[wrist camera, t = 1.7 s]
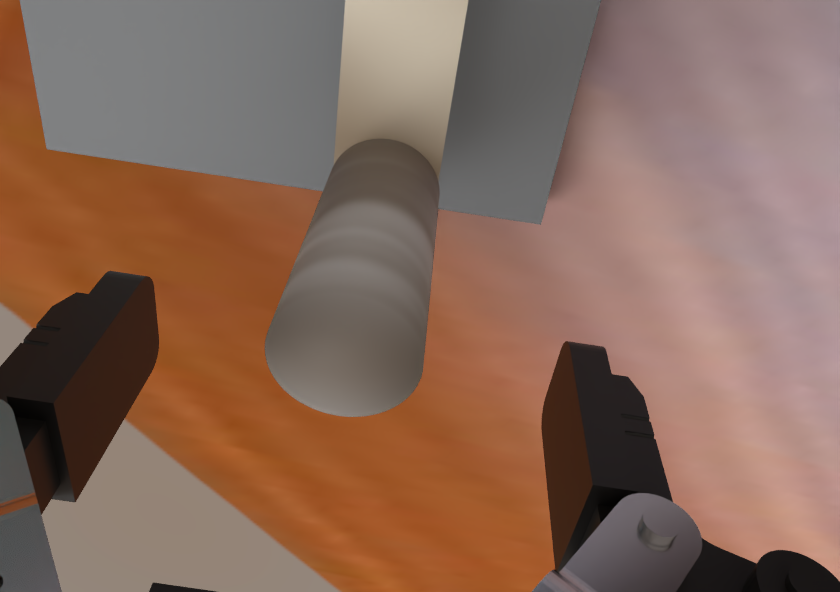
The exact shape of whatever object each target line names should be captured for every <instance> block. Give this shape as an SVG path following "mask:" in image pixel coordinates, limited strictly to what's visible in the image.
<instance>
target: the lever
mask: <svg viewBox="0 0 840 592" xmlns="http://www.w3.org/2000/svg"><path fill="white" fill-rule="evenodd" d="M467 6H468V0H345V11H344V26H343V40H342V54H341V68H340V82H339V96H338V110H337V124H336V139H335V153H334V166H333V168H332V170H331V172H330V175H329V177H328V180H327V183H326V185H325V188H324V190H323V193H322V195H321V198H320V200H319V203H318V205H317V208H316V210H315V213H314V216H313V218H312V221H311V223H310V226H309V228H308V231H307V233H306V236H305V238H304V241H303V243H302V246H301V249H300V251H299V254H298V256H297V259H296V261H295V264H294V266H293V269H292V271H291V274H290V277H289V279H288V282H287V284H286V287H285V289H284V292H283V294H282V297H281V299H280V302H279V304H278V307H277V310H276V312H275V315H274V317H273V320H272V322H271V325H270V327H269V330H268V333H267V336H266V340H265V356H266V360H267V364H268V366H269V369H270V371H271V373H272V375H273V376H274V378H275V380H276V381H277V382H278V383H279V385H280V386H281V387H282V388H283V389H284V390H285V391H286V392H287V393H288V394H290V395H291V396H292V397H293V398H295V399H296V400H298V401H299V402H301V403H303V404H305V405H307V406H308V407H310V408H313V409H315V410H318V411H321V412H324V413H328V414H332V415H338V416H347V417H360V416H369V415H374V414H378V413H381V412H384V411H387V410H389V409H391V408H394V407H395V406H397V405H399V404H400V403H402V402H403V401H404V400H405V399H407V398H408V397H409V396H410V395H411V393H412V392H413V391H414V390H415V388H416V387H417V385H418V383H419V381H420V379H421V375H422V372H423V364H424V353H425V342H426V332H427V321H428V311H429V300H430V290H431V279H432V269H433V258H434V248H435V237H436V227H437V216H438V206H439V195H440V190H439V182H438V181H439V174H440V168H441V162H442V156H443V150H444V144H445V138H446V132H447V126H448V120H449V114H450V108H451V102H452V96H453V90H454V84H455V78H456V72H457V66H458V60H459V54H460V48H461V42H462V36H463V30H464V24H465V18H466V12H467Z"/></svg>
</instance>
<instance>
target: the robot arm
mask: <svg viewBox="0 0 840 592" xmlns="http://www.w3.org/2000/svg"><path fill="white" fill-rule="evenodd" d="M158 349H159V334H158V324H157V313H156V303H155V293H154V285H153V281H152V279H151V278H150V277H147V276H140V275H134V274H127V273H121V272H114V271H109V272H107V273H106V274H105V275H104V276H103V277H102V278H101V279H100V281H99V282H98V283H97V284H96V286H95V287H94V288H93V289H92V291H91V292H90V293H89V294H84V293H77V292H76V293H75V294H73V295H71V296H70V297H68V298H66V299H64V300H63V301H61V302H59V303H57V304H56V305H54V306H52V307H51V308H50V310H49V311H48V312H47V313H46V314H45V315H44V317H43V318H42V319H41V320H40V321H39V322H38V323H37V327H36V328H33V329H32V330H31V332H30V333H29V334H28V335H27V336H26V337H25V339H24V343H20V344H19V346H18V347H17V348H16V349H15V350H14V351H13V352H12V354H11V355H10V356H9V357H8V358H7V360H6V361H5V362H4V363H3V364H2V365H1V366H0V592H62V591H61V587H60V583H59V579H58V576H57V572H56V568H55V565H54V561H53V557H52V553H51V549H50V546H49V542H48V538H47V535H46V531H45V527H44V523H43V520H42V516H41V515H42V513H43V511H44V510H45V508H46V507H47V505H48V503H49V502H50V500H51V499H55V500H63V501H69V502H76V500H77V499H78V497H79V495H80V494H81V492H82V490H83V488H84V487H85V485H86V483H87V481H88V480H89V478H90V476H91V475H92V473H93V471H94V470H95V468H96V466H97V465H98V463H99V461H100V459H101V458H102V456H103V454H104V453H105V451H106V449H107V447H108V446H109V444H110V442H111V441H112V439H113V437H114V435H115V434H116V432H117V430H118V429H119V427H120V425H121V423H122V422H123V420H124V418H125V417H126V415H127V413H128V412H129V410H130V408H131V406H132V405H133V403H134V401H135V400H136V398H137V396H138V394H139V393H140V391H141V389H142V388H143V386H144V384H145V382H146V381H147V379H148V377H149V376H150V374H151V372H152V370H153V368H154V366H155V363H156V359H157V355H158ZM542 439H543V449H544V459H545V469H546V479H547V490H548V500H549V510H550V520H551V530H552V540H553V551H554V561H555V570H552V571H551V572H549V573H548V574H547V575H546V576H545V577H544V578H543V579H542V581H541V582H540V583H539V584H538V585H537V586H536V587H535V589H534V590H533V591H532V592H840V582H839V581H838V579H837V578H836V577H835V576H834V575H833V574H832V573H831V572H830V571H828V570H827V569H826V568H825V567H823V566H822V565H820V564H819V563H817V562H816V561H814V560H812V559H810V558H809V557H807V556H804V555H802V554H799V553H796V552H792V551H786V550H776V551H771V552H769V553H767V554H765V555H764V556H762V557H761V558H760V560H759V561H758V563H757V564H756V563H754V562H752V561H749V560H747V559H744V558H742V557H740V556H737V555H735V554H733V553H730V552H728V551H725V550H723V549H721V548H719V547H716V546H714V545H712V544H711V543H709V542H707V541H706V540H704V539H703V538H701V534H700V531H699V529H698V527H697V525H696V524H695V522H694V521H693V519H692V518H691V517H690V516H689V515H688V514H687V513H686V512H685V511H684V510H683V509H682V508H681V507H679V506H678V505H676V504H675V503H673V501H672V497H671V493H670V490H669V486H668V483H667V479H666V475H665V472H664V468H663V465H662V461H661V457H660V454H659V450H658V447H657V443H656V439H654V432H653V429H652V425H651V422H649V414H648V411H647V407H646V403H645V400H644V397H643V395H642V394H641V393H640V392H639V390H638V389H637V388H636V386H635V385H634V384H633V383H632V381H631V380H630V379H629V378H628V377H626V376H619V375H613V374H611V370H610V365H609V361H608V357H607V352H606V349H605V348H604V347H601V346H595V345H588V344H581V343H575V342H568V341H566V342H565V343H564V344H563V346H562V348H561V351H560V354H559V357H558V360H557V364H556V367H555V370H554V373H553V376H552V379H551V382H550V385H549V388H548V392H547V395H546V398H545V402H544V406H543V413H542ZM149 592H215V591H208V590H201V589H194V588H187V587H180V586H173V585H166V584H159V583H153V584H152V586H151V588H150V591H149Z"/></svg>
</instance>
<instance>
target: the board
mask: <svg viewBox="0 0 840 592" xmlns="http://www.w3.org/2000/svg"><path fill="white" fill-rule="evenodd" d="M600 3H601V0H468V6H467V12H466V18H465V24H464V30H463V36H462V42H461V48H460V54H459V60H458V66H457V72H456V78H455V84H454V90H453V96H452V102H451V108H450V114H449V120H448V126H447V132H446V138H445V144H444V150H443V156H442V162H441V168H440V174H439V181H438V182H439V190H440V195H439V206H438V209H442V210H449V211H455V212H462V213H468V214H475V215H481V216H488V217H494V218H501V219H508V220H514V221H521V222H527V223H534V224H540V225H541V222H542V218H543V215H544V211H545V207H546V203H547V200H548V196H549V192H550V189H551V185H552V181H553V177H554V174H555V170H556V166H557V163H558V159H559V155H560V151H561V148H562V144H563V140H564V136H565V133H566V129H567V125H568V122H569V118H570V114H571V110H572V107H573V103H574V99H575V96H576V92H577V88H578V84H579V81H580V77H581V73H582V70H583V66H584V62H585V58H586V55H587V51H588V47H589V44H590V40H591V36H592V32H593V29H594V25H595V21H596V17H597V14H598V10H599V6H600ZM20 4H21V9H22V15H23V20H24V26H25V31H26V37H27V43H28V48H29V54H30V59H31V65H32V70H33V76H34V81H35V87H36V92H37V98H38V103H39V109H40V114H41V120H42V125H43V131H44V136H45V142H46V147H47V149H49V150H56V151H62V152H69V153H75V154H82V155H88V156H95V157H101V158H108V159H115V160H121V161H128V162H134V163H141V164H147V165H154V166H160V167H167V168H174V169H180V170H187V171H193V172H200V173H206V174H213V175H219V176H226V177H232V178H239V179H246V180H252V181H259V182H265V183H272V184H278V185H285V186H291V187H298V188H305V189H311V190H318V191H323V190H324V188H325V185H326V183H327V180H328V177H329V175H330V172H331V170H332V168H333V166H334V153H335V139H336V124H337V110H338V96H339V82H340V68H341V54H342V40H343V26H344V11H345V0H20Z"/></svg>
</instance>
